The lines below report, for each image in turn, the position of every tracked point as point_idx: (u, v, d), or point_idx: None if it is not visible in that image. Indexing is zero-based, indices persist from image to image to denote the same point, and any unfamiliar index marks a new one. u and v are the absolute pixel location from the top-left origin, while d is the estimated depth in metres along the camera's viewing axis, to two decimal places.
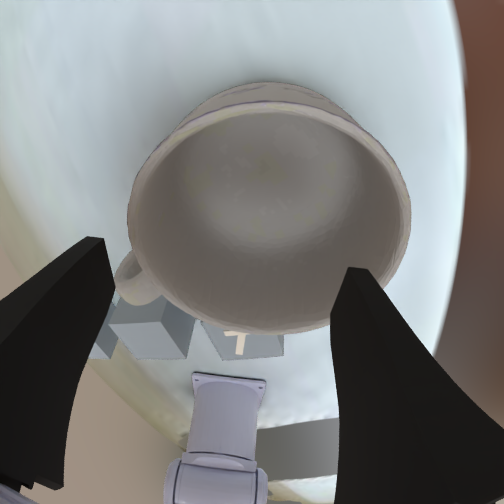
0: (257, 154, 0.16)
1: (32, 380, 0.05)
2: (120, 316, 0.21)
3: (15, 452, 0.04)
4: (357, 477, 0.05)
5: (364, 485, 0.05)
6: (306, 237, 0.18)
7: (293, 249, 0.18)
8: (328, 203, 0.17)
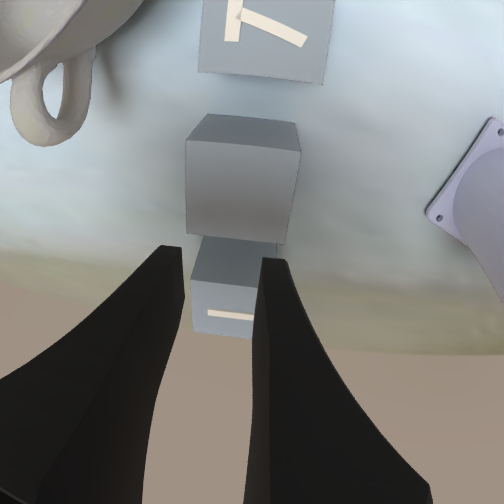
0: None
1: (126, 411, 0.05)
2: None
3: (111, 493, 0.04)
4: (250, 478, 0.05)
5: (251, 487, 0.05)
6: None
7: None
8: None
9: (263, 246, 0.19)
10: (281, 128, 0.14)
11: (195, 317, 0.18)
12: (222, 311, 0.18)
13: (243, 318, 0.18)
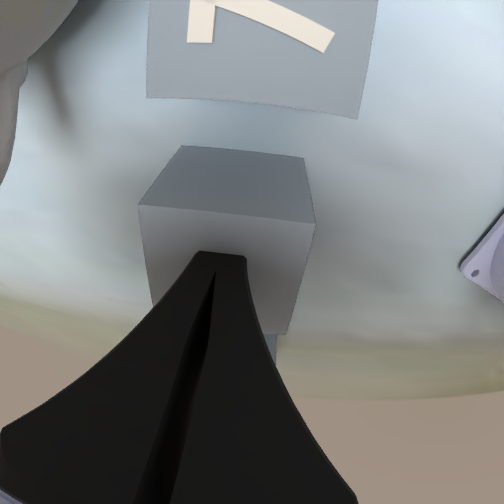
0: None
1: (180, 422, 0.05)
2: None
3: None
4: None
5: None
6: None
7: None
8: None
9: None
10: (285, 170, 0.10)
11: None
12: None
13: None
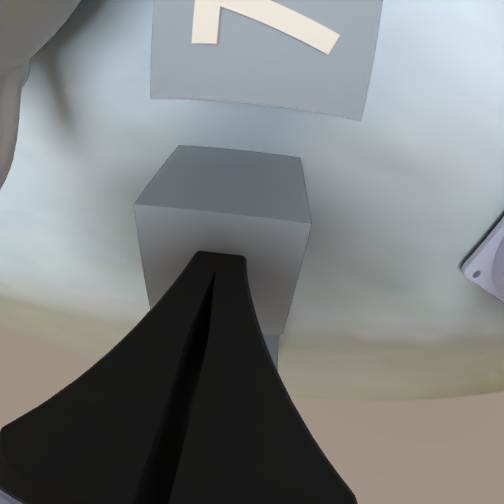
0: None
1: (180, 422, 0.05)
2: None
3: None
4: None
5: None
6: None
7: None
8: None
9: None
10: (281, 170, 0.10)
11: None
12: None
13: None
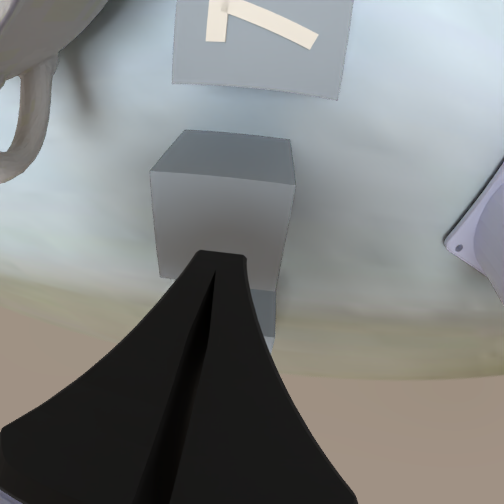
0: None
1: (180, 422, 0.05)
2: None
3: None
4: None
5: None
6: None
7: None
8: None
9: None
10: (273, 148, 0.12)
11: None
12: None
13: None
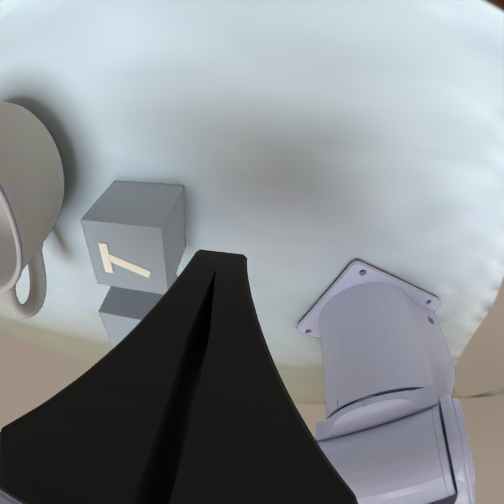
0: None
1: (180, 422, 0.05)
2: None
3: None
4: None
5: None
6: None
7: None
8: None
9: None
10: None
11: None
12: None
13: None
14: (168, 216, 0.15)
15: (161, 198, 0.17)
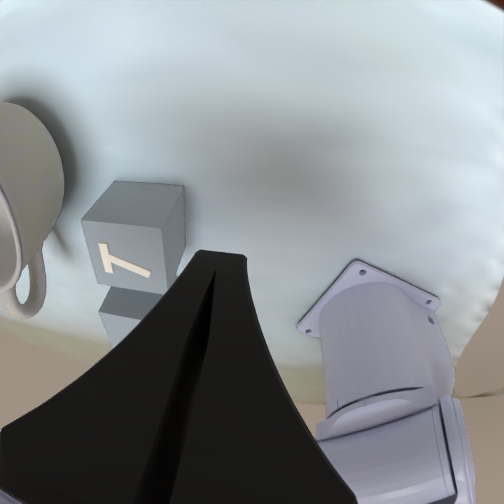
0: None
1: (180, 422, 0.05)
2: None
3: None
4: None
5: None
6: None
7: None
8: None
9: None
10: None
11: None
12: None
13: None
14: (168, 216, 0.15)
15: (161, 198, 0.17)
